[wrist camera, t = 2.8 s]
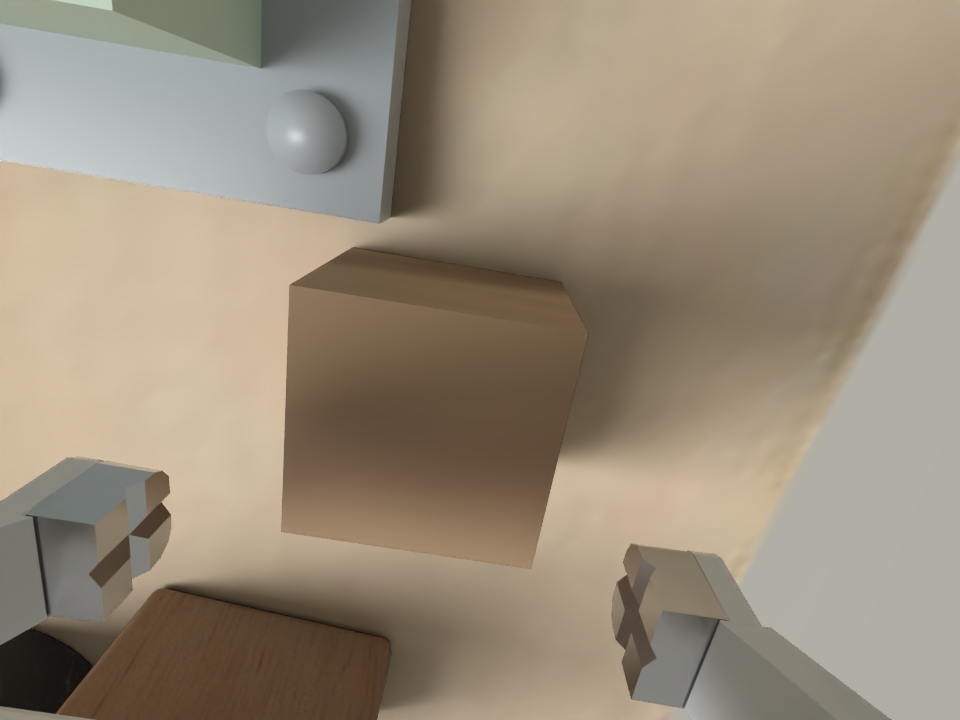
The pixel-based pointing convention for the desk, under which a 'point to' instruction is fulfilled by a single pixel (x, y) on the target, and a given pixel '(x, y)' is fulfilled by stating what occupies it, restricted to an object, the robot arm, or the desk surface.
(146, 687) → the wooden block
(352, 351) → the walnut brick
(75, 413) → the desk surface
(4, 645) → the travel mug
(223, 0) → the green brick
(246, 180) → the base plate
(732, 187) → the desk surface
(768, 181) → the desk surface
